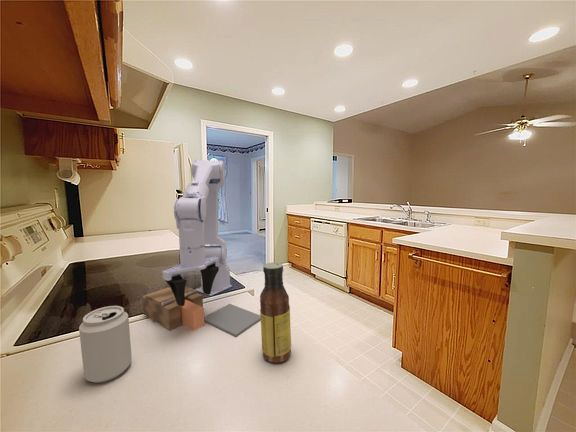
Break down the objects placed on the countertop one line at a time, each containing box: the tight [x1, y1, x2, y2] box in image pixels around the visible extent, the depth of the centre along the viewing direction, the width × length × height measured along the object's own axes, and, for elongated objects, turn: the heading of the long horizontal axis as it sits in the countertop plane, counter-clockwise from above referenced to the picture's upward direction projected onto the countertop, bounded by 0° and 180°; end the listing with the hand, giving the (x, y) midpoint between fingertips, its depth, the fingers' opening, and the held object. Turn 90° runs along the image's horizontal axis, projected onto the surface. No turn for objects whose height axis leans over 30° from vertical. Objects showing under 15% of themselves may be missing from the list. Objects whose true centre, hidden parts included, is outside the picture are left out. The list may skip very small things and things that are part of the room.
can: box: [78, 305, 133, 384], centre depth 47 cm, size 8×8×12 cm
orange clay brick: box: [174, 299, 205, 331], centre depth 65 cm, size 10×3×5 cm, turn 56°
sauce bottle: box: [259, 261, 292, 364], centre depth 51 cm, size 7×6×20 cm
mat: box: [204, 303, 261, 338], centre depth 66 cm, size 10×13×1 cm
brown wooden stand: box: [142, 285, 204, 331], centre depth 68 cm, size 13×10×6 cm
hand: (194, 298), depth 62 cm, fingers open, 7 cm apart
